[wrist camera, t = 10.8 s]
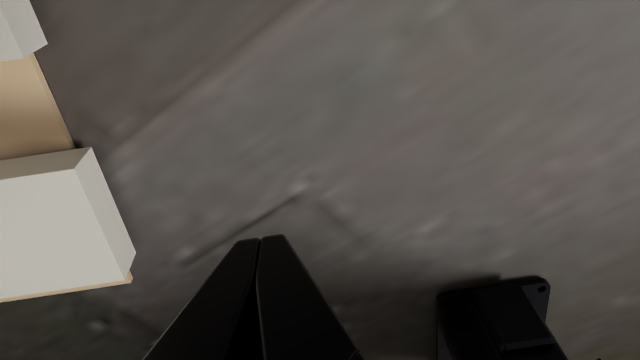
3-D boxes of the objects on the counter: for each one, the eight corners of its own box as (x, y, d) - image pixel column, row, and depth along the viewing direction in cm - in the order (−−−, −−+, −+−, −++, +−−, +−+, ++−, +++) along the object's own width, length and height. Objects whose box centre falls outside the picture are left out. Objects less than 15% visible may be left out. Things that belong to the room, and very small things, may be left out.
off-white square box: (124, 280, 22) (-24, 302, 22) (136, 251, 24) (-1, 271, 24) (74, 168, 19) (-99, 194, 19) (92, 145, 21) (-65, 168, 21)
